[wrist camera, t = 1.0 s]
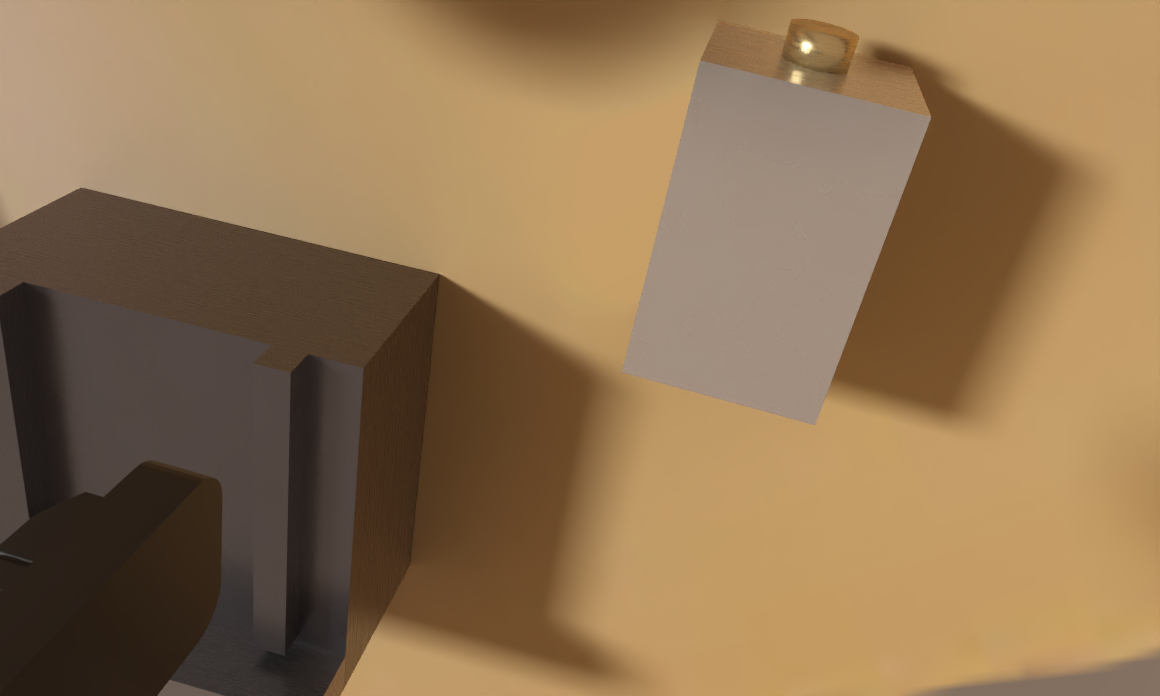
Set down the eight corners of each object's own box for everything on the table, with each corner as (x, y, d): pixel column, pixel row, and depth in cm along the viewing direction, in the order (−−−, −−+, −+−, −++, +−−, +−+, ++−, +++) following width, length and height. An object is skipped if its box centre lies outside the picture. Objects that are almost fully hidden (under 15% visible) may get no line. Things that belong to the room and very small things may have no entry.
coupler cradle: (80, 187, 32) (-140, 299, 24) (439, 274, 30) (322, 419, 23) (108, 483, 38) (-63, 645, 30) (409, 565, 36) (308, 754, 29)
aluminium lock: (726, -13, 25) (709, 22, 21) (922, 34, 25) (946, 79, 20) (649, 291, 30) (621, 372, 25) (814, 335, 29) (814, 425, 25)
